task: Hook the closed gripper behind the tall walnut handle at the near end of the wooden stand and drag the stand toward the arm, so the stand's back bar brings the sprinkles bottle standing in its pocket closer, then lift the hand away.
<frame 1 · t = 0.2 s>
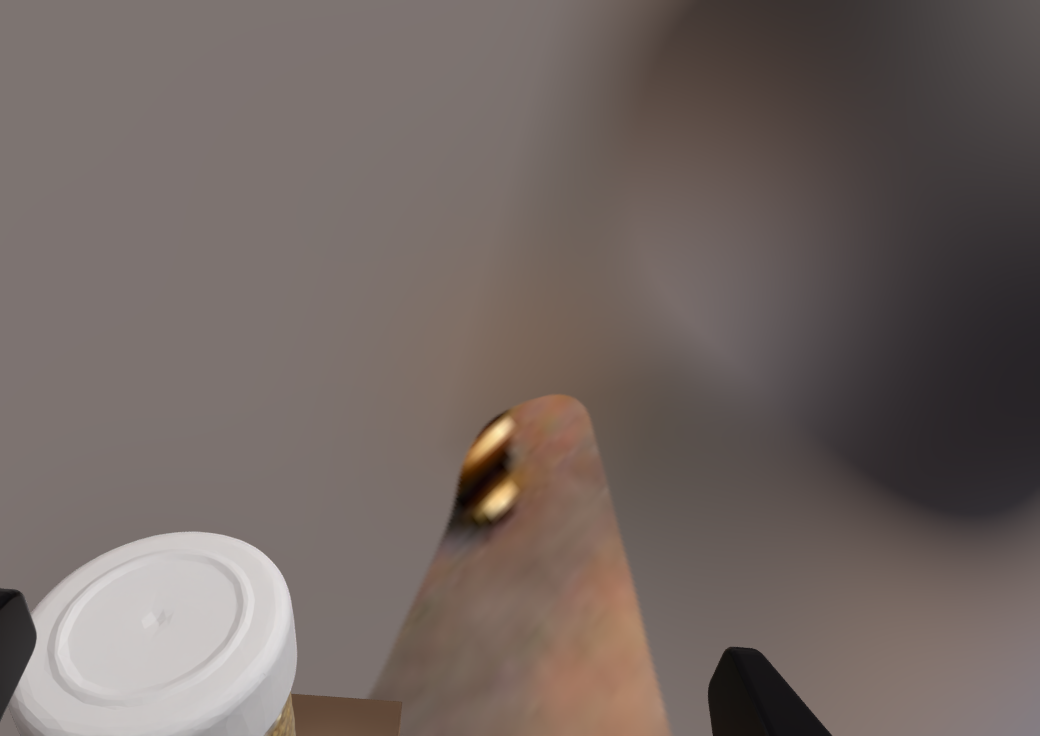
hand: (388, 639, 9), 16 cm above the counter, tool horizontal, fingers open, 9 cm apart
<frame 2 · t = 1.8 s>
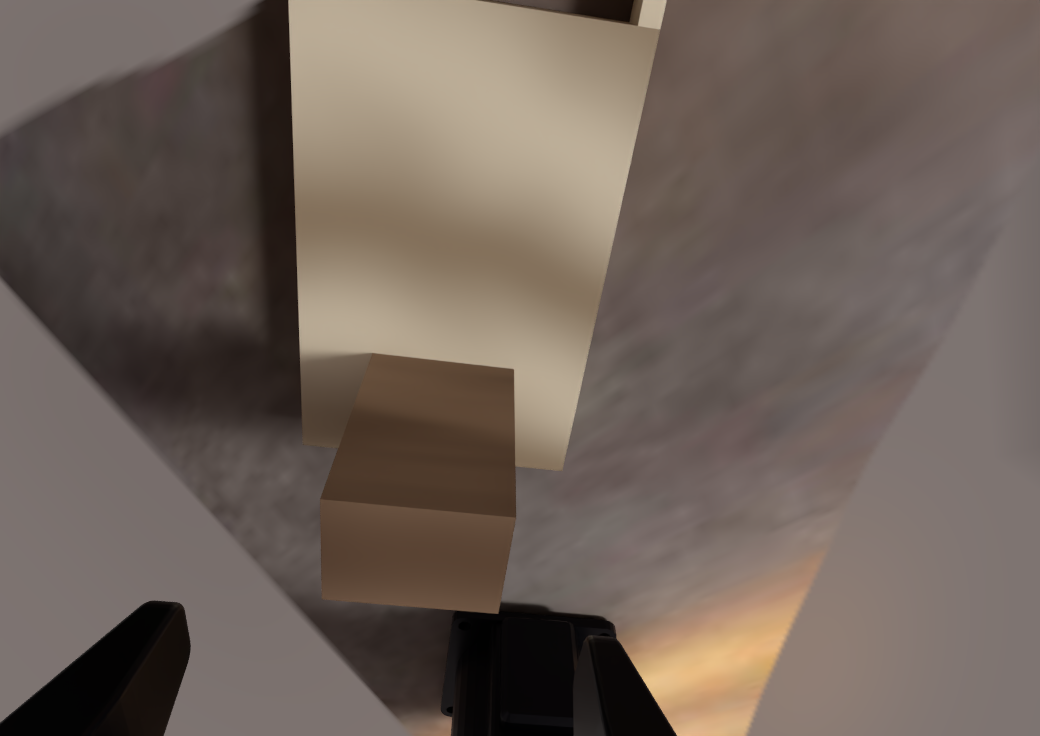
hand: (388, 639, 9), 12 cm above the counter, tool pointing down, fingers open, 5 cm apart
wooden stand: (462, 119, 13), point 4 cm above the counter, slide at 0.0 cm
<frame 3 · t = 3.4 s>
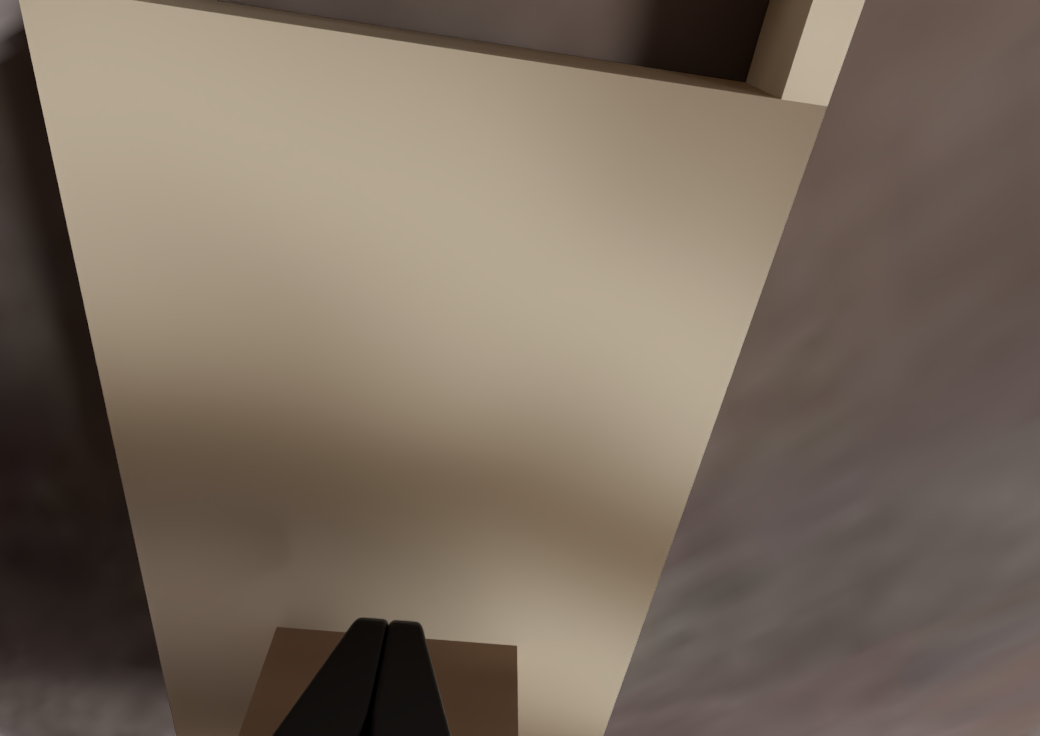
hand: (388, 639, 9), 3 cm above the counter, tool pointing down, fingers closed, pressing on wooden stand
wooden stand: (397, 340, 6), point 4 cm above the counter, slide at 0.1 cm, touching gripper
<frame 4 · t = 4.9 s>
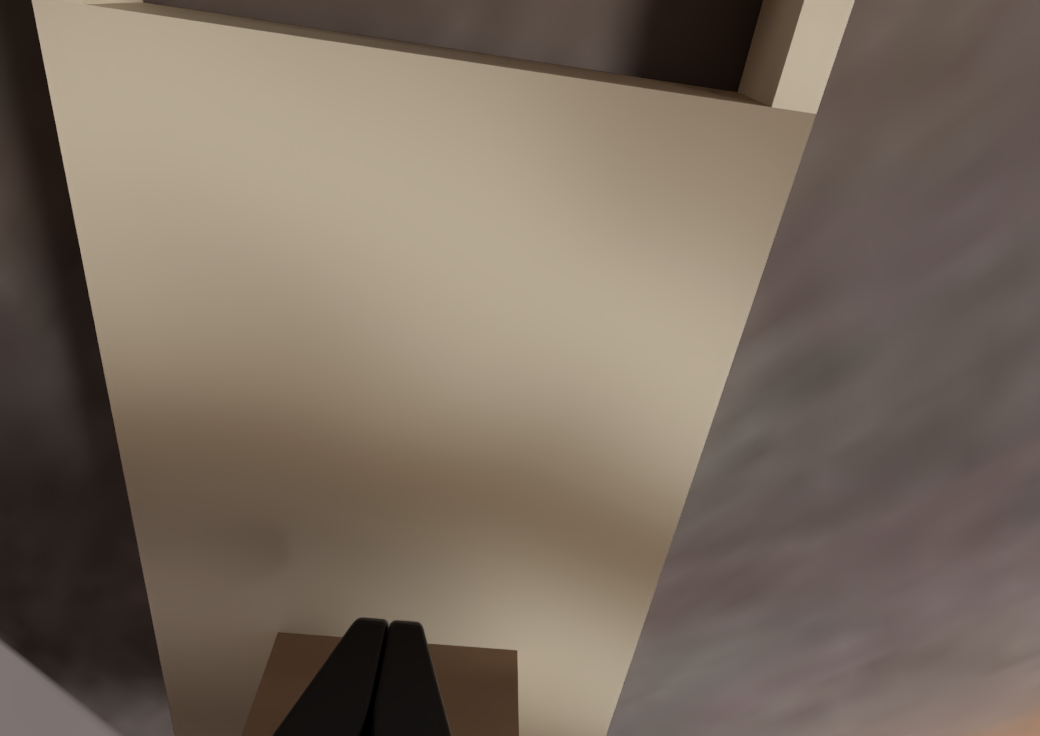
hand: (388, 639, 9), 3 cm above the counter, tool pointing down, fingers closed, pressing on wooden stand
wooden stand: (401, 338, 6), point 4 cm above the counter, slide at 5.1 cm, touching gripper, sprinkles bottle
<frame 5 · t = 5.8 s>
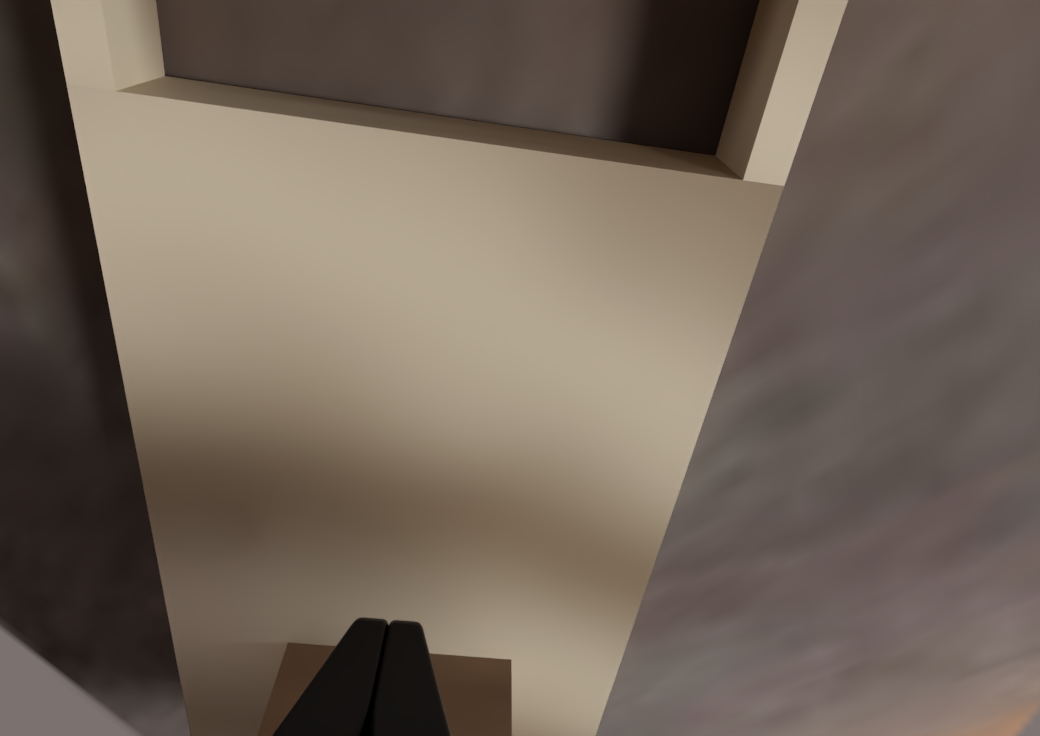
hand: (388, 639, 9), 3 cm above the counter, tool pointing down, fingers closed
wooden stand: (403, 405, 6), point 4 cm above the counter, slide at 5.0 cm
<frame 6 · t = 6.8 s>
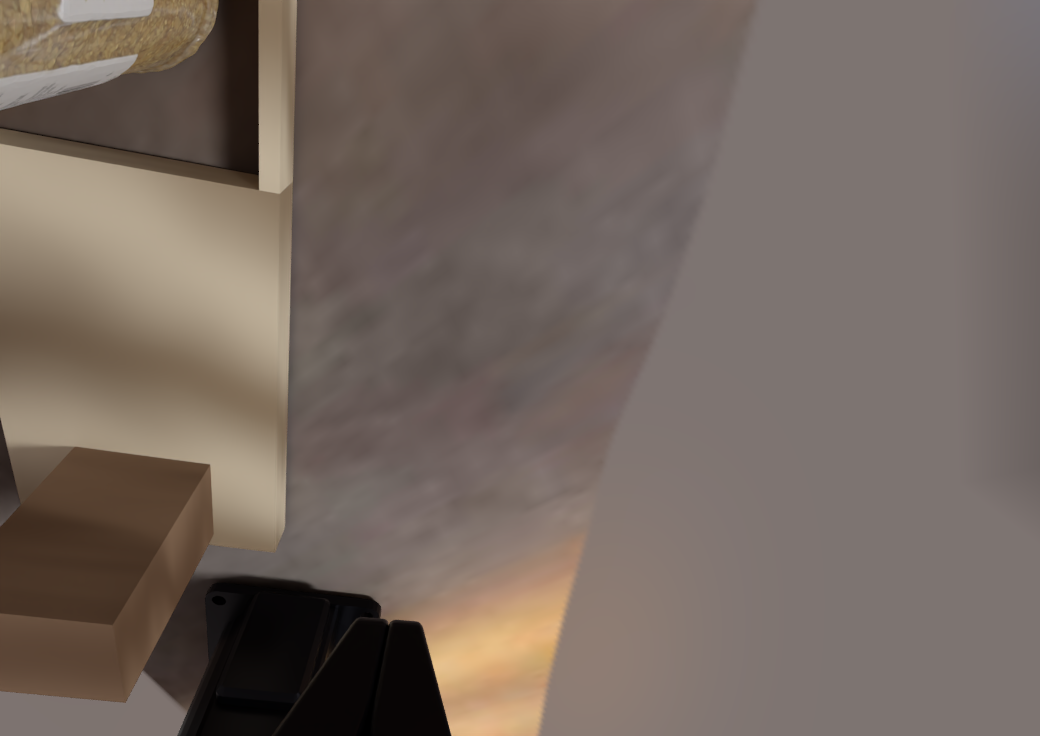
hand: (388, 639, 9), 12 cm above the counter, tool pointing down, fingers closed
wooden stand: (66, 277, 15), point 4 cm above the counter, slide at 5.0 cm
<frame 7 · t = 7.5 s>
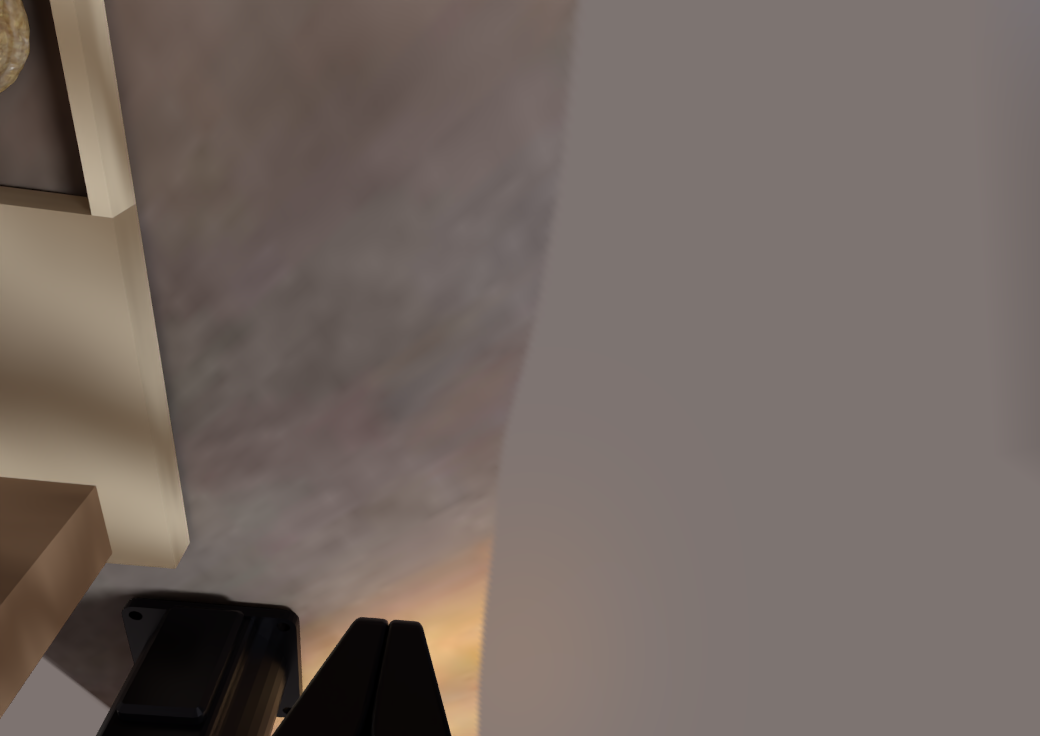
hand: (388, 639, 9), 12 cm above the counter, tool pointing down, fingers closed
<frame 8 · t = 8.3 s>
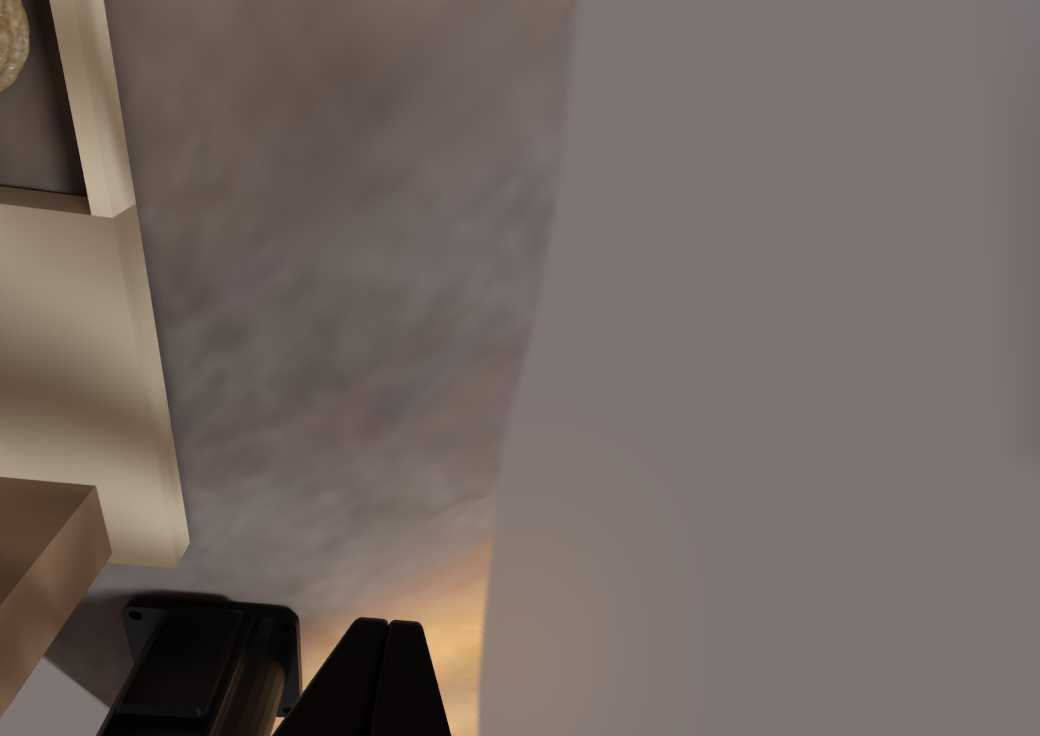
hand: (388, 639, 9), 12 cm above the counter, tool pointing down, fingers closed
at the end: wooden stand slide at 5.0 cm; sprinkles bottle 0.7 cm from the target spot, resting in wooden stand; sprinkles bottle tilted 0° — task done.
